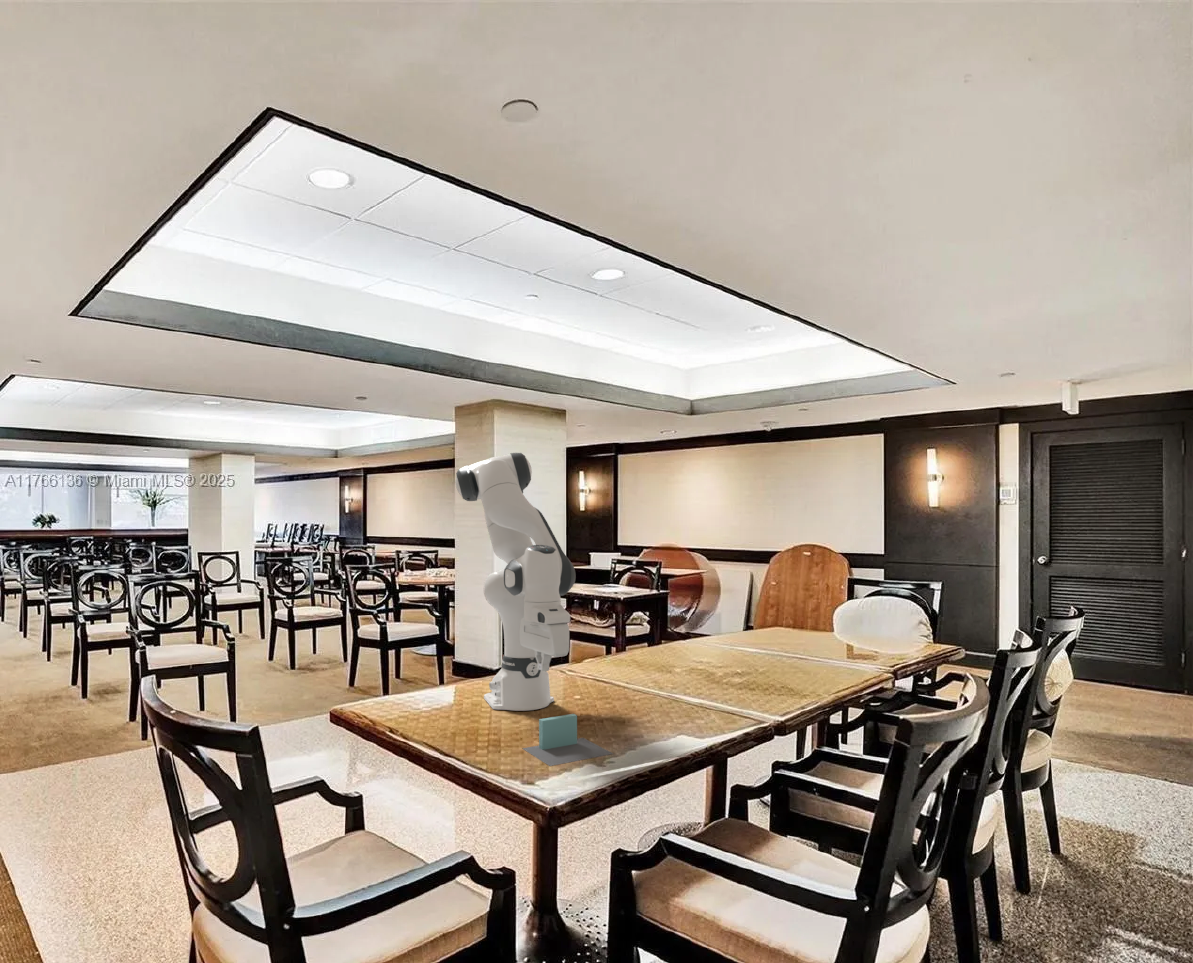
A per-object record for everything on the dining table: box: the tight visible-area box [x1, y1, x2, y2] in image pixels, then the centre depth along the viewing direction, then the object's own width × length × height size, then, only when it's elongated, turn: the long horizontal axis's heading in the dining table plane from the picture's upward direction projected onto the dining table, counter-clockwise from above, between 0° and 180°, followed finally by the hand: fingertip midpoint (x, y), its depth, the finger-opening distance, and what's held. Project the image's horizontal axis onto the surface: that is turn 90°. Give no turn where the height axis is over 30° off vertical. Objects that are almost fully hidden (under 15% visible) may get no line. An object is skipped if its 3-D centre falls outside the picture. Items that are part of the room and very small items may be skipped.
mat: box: [522, 737, 614, 767], centre depth 172 cm, size 14×16×1 cm
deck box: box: [538, 713, 578, 750], centre depth 176 cm, size 2×9×6 cm, turn 120°
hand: (543, 670), depth 183 cm, fingers closed
